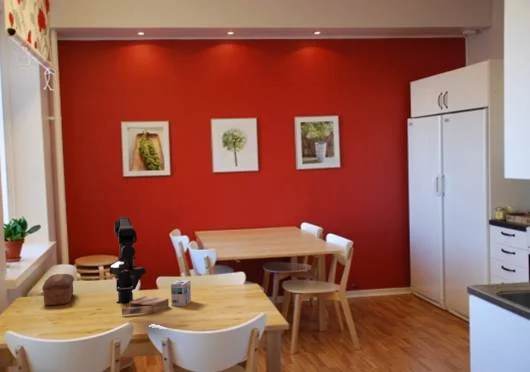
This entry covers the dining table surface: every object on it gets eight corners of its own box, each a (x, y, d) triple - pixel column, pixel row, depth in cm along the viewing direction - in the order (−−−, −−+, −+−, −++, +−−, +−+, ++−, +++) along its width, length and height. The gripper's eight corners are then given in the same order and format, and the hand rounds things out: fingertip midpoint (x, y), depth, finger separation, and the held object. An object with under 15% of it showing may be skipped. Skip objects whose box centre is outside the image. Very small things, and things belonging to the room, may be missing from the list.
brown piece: (129, 310, 286) (129, 301, 286) (145, 304, 297) (144, 296, 297) (153, 313, 280) (153, 304, 280) (168, 306, 291) (168, 298, 291)
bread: (75, 292, 326) (75, 270, 325) (70, 305, 298) (69, 280, 298) (48, 294, 323) (47, 272, 322) (41, 307, 295) (40, 282, 295)
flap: (121, 315, 276) (121, 308, 275) (121, 314, 276) (121, 308, 276) (153, 312, 279) (152, 306, 279) (152, 312, 280) (152, 305, 280)
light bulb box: (184, 306, 291) (183, 284, 291) (171, 306, 293) (170, 284, 292) (191, 301, 302) (190, 279, 301) (178, 300, 303) (177, 279, 303)
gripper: (99, 255, 277) (101, 289, 277) (127, 259, 266) (129, 294, 267) (118, 252, 286) (119, 284, 287) (146, 255, 275) (147, 289, 276)
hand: (128, 288), depth 279 cm, fingers open, 8 cm apart
